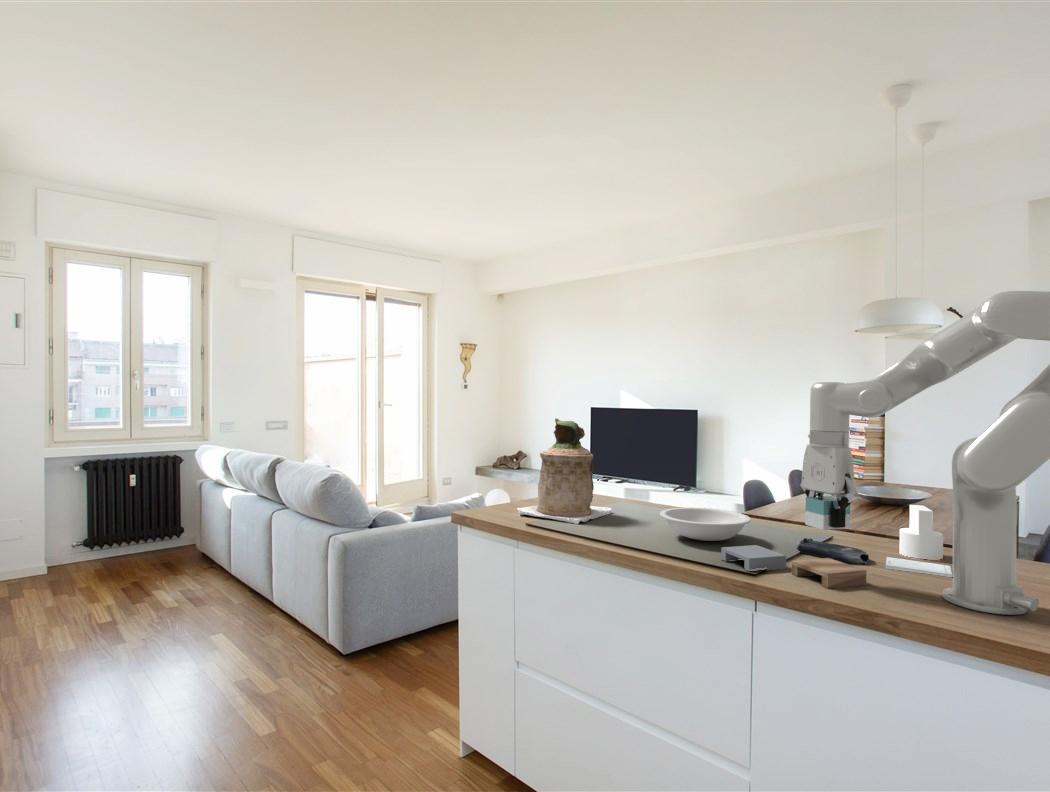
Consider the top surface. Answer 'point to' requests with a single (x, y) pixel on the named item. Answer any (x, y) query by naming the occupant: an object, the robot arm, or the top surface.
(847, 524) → the block
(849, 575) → the stand
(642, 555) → the top surface
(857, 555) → the electronic device
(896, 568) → the hard drive
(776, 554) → the stand
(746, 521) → the soup bowl
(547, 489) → the cookie jar
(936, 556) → the cylinder with rectangular tab
